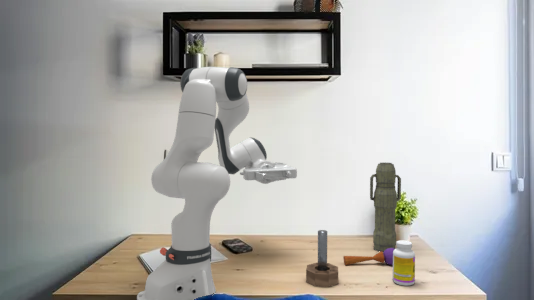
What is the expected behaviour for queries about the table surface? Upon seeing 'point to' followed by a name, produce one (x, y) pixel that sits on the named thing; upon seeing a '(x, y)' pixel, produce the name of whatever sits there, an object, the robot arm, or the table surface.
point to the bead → (322, 275)
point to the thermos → (385, 206)
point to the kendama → (379, 257)
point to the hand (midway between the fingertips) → (276, 176)
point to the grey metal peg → (322, 250)
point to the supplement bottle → (404, 263)
